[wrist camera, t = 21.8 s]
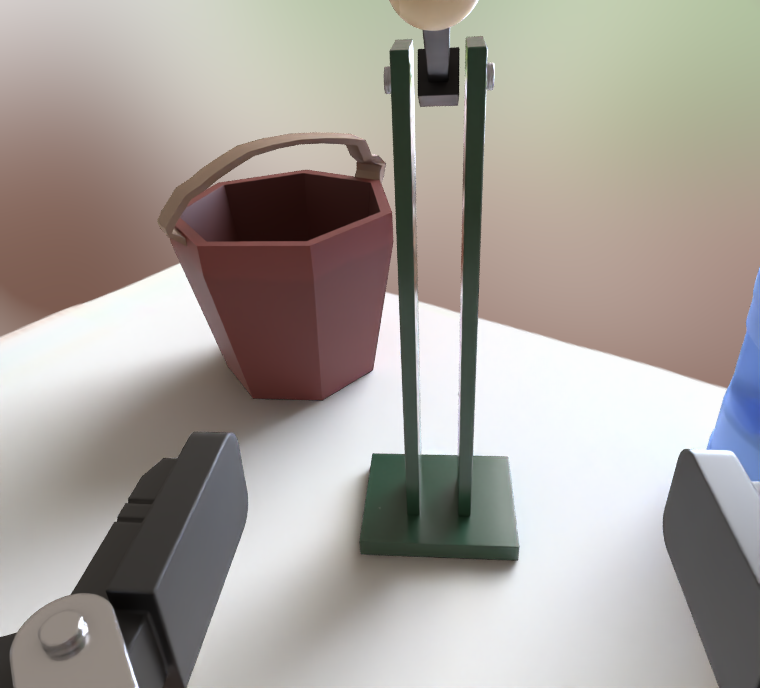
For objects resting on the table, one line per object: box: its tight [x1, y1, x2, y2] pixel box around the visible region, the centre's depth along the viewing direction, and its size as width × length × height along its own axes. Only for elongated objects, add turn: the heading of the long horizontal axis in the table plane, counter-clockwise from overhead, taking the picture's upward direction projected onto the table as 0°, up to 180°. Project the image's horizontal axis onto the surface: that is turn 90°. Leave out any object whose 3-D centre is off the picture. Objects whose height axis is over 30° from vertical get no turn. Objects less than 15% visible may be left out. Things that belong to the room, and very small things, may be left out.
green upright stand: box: [359, 36, 519, 560], centre depth 44 cm, size 10×12×35 cm
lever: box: [389, 0, 478, 107], centre depth 28 cm, size 17×3×3 cm, turn 175°
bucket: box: [157, 133, 393, 400], centre depth 67 cm, size 24×22×25 cm
